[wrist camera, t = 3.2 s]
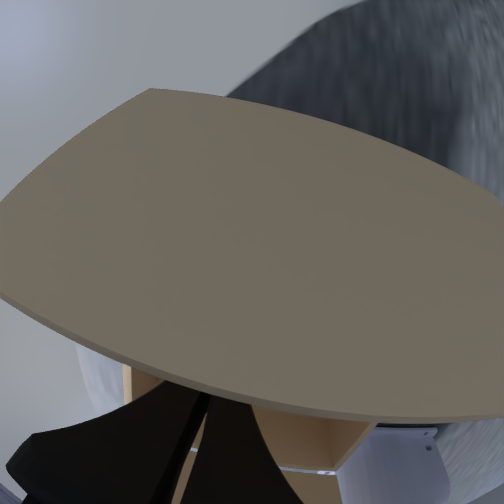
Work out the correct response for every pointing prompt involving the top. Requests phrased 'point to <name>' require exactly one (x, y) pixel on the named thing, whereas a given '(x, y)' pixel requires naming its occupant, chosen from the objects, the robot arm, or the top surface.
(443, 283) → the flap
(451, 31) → the top surface
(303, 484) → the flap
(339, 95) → the top surface
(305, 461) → the carton
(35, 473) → the robot arm
